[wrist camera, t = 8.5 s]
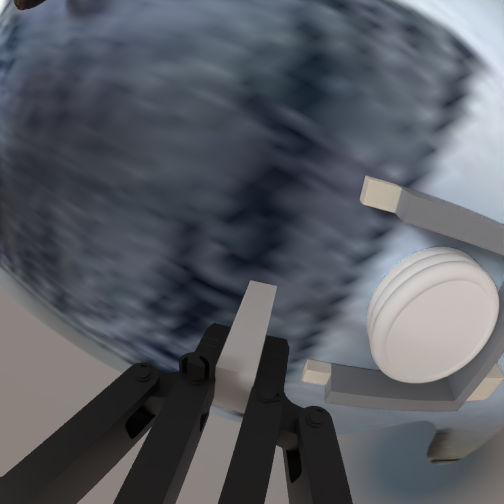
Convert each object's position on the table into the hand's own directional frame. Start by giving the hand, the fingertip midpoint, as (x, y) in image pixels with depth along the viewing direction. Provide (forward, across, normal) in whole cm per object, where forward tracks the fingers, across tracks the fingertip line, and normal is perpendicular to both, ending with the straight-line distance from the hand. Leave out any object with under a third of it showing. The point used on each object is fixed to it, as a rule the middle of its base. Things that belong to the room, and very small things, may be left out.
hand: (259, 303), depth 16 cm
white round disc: (+4, +12, 0) cm, 13 cm away
